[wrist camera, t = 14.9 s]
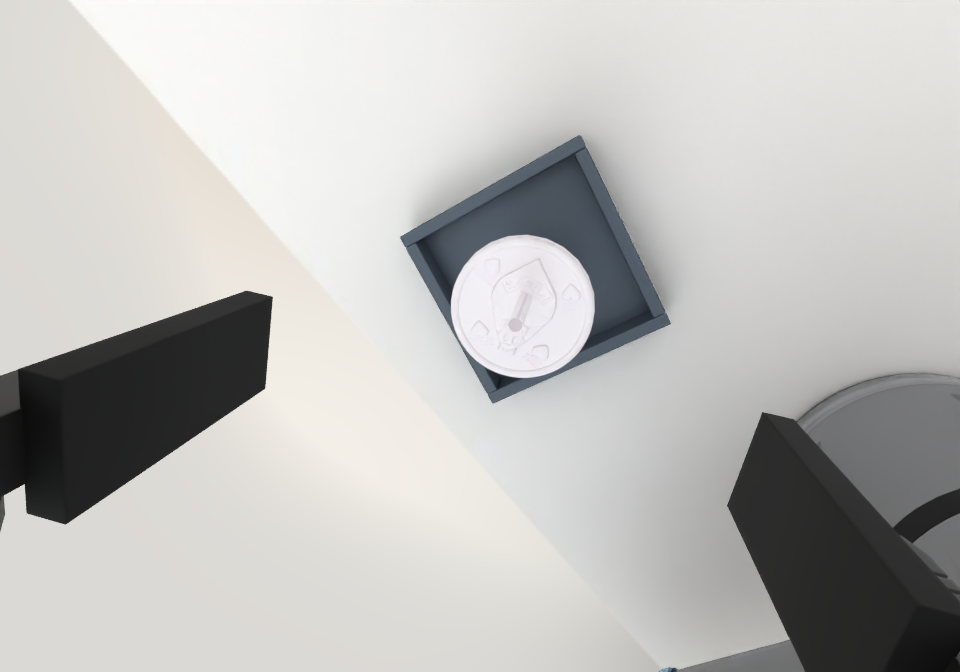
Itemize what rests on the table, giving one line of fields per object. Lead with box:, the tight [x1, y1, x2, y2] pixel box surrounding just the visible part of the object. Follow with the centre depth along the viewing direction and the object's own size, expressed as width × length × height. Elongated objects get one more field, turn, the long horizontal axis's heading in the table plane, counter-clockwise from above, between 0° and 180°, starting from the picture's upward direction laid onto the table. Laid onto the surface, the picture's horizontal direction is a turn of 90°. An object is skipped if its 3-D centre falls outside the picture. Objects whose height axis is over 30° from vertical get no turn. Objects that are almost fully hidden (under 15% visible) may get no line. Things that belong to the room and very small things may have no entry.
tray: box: [400, 135, 671, 403], centre depth 33 cm, size 11×11×2 cm
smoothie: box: [451, 235, 595, 378], centre depth 27 cm, size 6×6×14 cm
